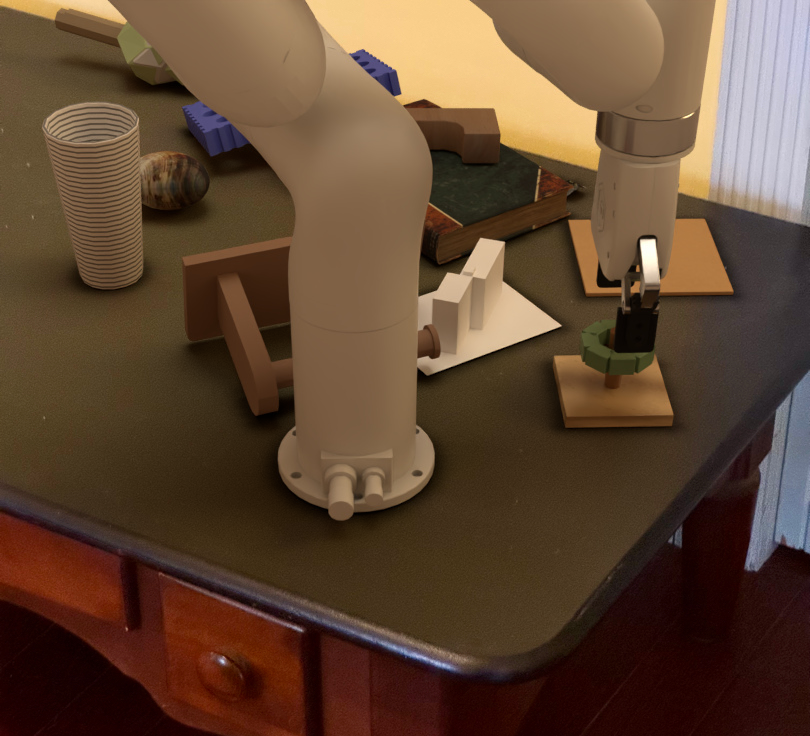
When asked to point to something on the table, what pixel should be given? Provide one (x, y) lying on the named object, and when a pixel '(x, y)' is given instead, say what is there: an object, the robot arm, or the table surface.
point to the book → (486, 200)
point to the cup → (99, 188)
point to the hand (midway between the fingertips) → (623, 317)
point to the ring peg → (610, 395)
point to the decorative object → (119, 43)
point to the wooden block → (461, 131)
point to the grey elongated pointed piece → (573, 186)
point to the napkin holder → (478, 311)
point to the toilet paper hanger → (252, 312)
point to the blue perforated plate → (224, 136)
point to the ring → (609, 352)
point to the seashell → (172, 180)
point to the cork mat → (688, 269)
